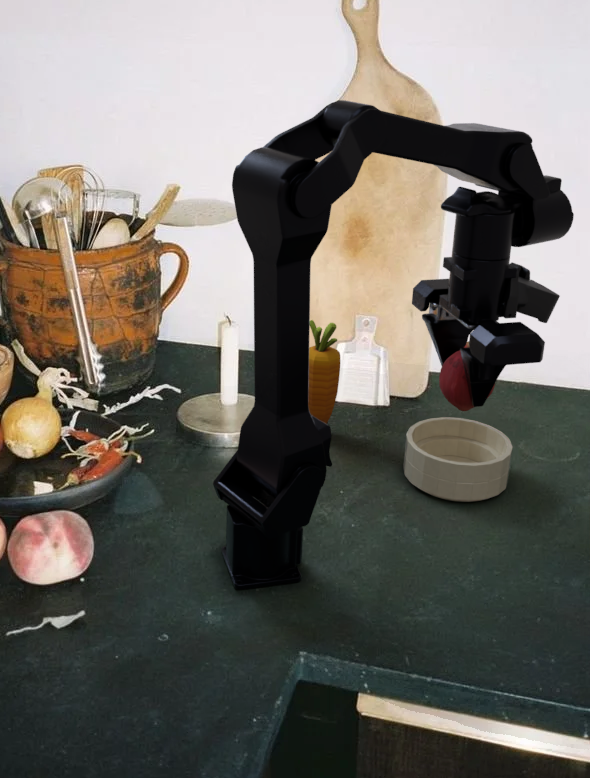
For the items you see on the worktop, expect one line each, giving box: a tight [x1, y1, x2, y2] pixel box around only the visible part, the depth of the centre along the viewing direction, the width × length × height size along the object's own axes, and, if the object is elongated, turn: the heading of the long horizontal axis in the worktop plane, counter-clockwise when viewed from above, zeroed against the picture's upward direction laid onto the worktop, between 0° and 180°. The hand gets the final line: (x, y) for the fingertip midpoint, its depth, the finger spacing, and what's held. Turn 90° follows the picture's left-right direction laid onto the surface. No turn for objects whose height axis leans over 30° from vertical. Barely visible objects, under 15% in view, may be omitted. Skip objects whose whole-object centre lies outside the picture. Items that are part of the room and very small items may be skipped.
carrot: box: [308, 319, 341, 425], centre depth 114 cm, size 5×5×15 cm
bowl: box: [402, 416, 514, 503], centre depth 106 cm, size 12×12×5 cm
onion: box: [438, 340, 496, 412], centre depth 99 cm, size 6×6×8 cm
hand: (464, 394), depth 100 cm, fingers closed on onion, 6 cm apart
